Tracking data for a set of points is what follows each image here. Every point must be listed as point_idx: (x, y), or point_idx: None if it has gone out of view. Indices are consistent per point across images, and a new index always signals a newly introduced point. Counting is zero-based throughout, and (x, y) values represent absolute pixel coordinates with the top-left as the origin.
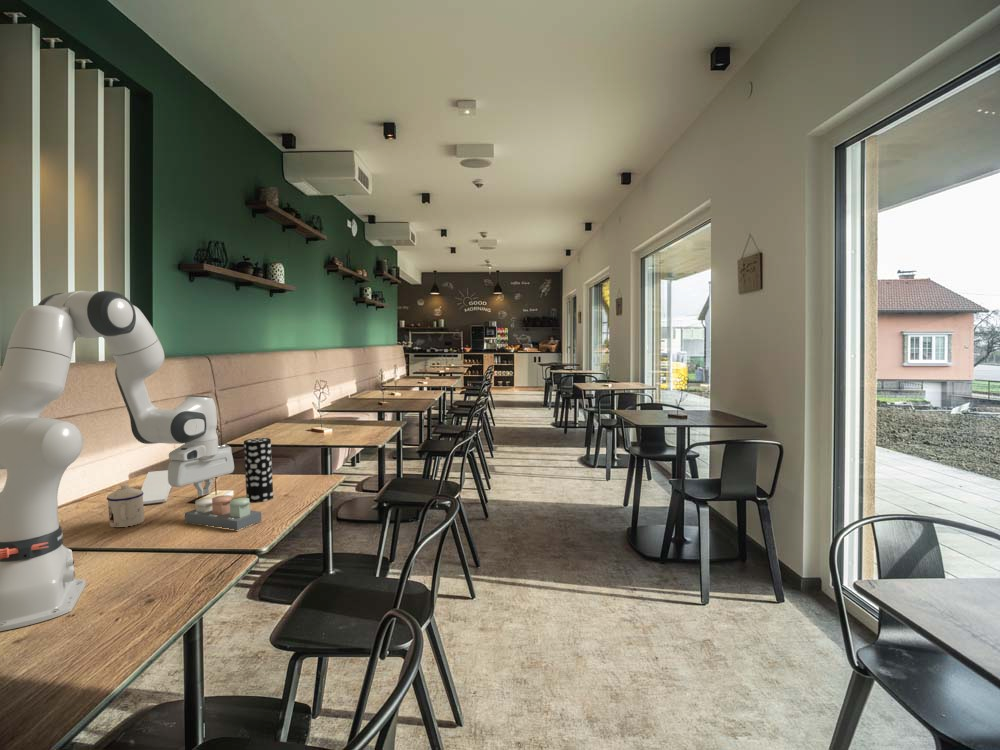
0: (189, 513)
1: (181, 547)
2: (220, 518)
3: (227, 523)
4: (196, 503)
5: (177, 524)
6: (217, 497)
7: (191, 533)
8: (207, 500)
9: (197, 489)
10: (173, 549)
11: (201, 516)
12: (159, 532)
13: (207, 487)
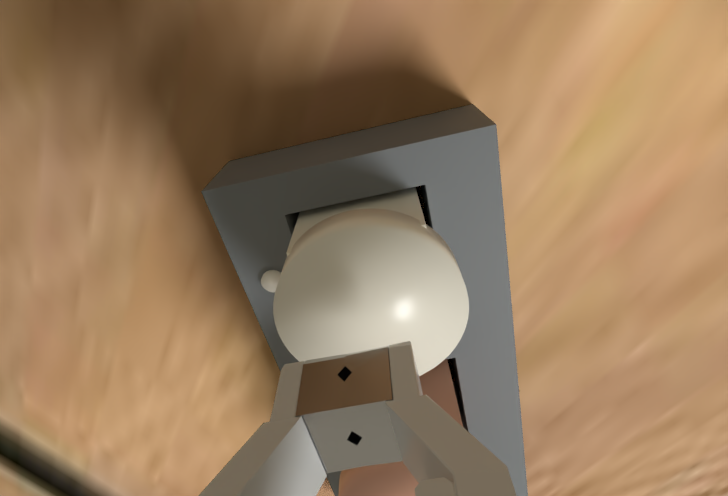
0: (228, 247)
1: (107, 486)
2: (330, 482)
3: None
4: (276, 307)
5: (172, 149)
6: (404, 491)
7: (194, 378)
8: (376, 345)
9: (264, 436)
10: (73, 482)
11: (277, 356)
12: (30, 217)
13: (406, 455)
